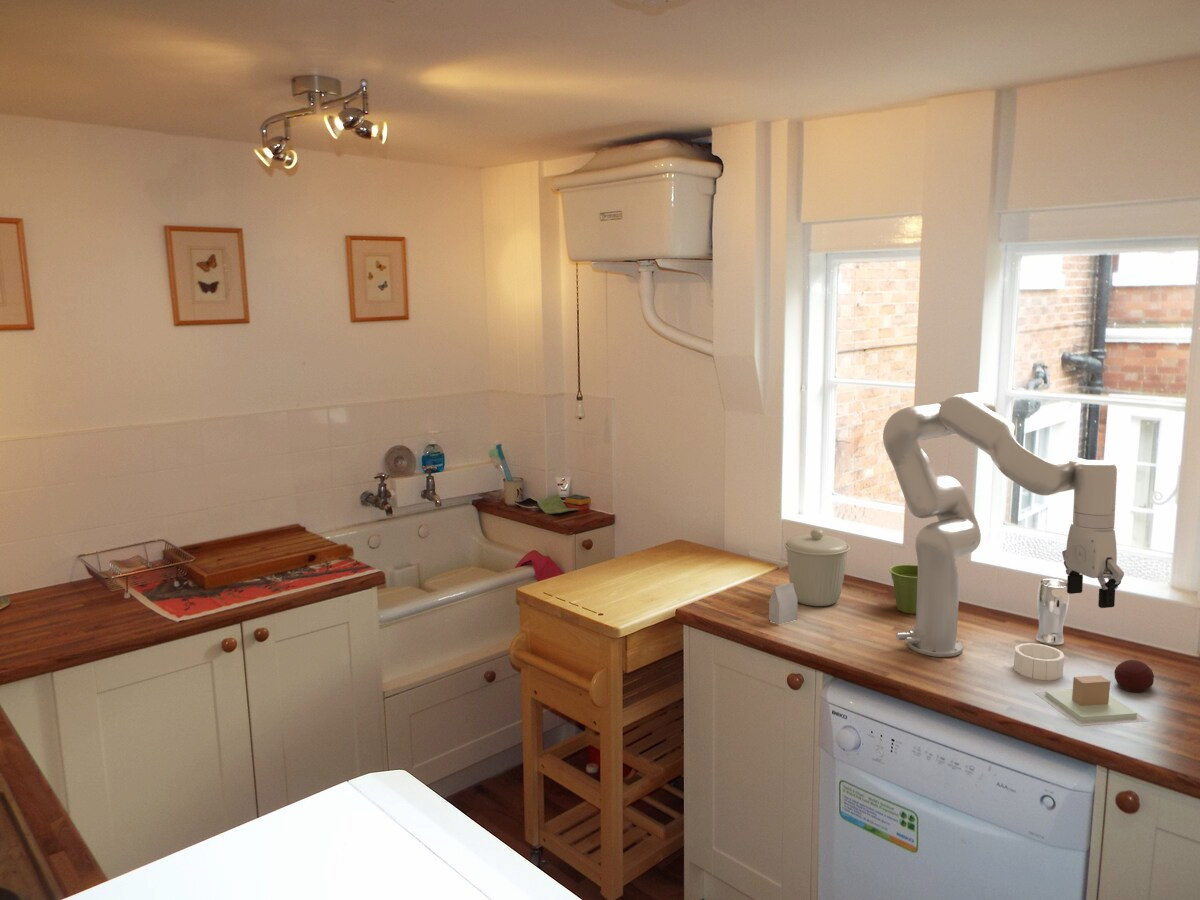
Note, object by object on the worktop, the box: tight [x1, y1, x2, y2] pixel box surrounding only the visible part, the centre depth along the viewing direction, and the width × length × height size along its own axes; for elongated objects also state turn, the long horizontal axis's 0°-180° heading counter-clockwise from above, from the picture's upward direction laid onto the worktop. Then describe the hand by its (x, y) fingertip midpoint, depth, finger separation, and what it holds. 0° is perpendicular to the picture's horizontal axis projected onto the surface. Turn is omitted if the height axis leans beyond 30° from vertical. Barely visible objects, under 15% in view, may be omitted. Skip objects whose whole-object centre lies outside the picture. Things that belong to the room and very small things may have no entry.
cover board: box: [1044, 674, 1138, 722], centre depth 183 cm, size 12×12×6 cm
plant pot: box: [888, 564, 918, 615], centre depth 241 cm, size 12×12×11 cm
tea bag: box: [768, 582, 798, 624], centre depth 234 cm, size 4×7×10 cm, turn 124°
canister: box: [783, 528, 851, 607], centre depth 248 cm, size 18×18×21 cm
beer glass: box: [1035, 578, 1070, 646], centre depth 218 cm, size 7×7×15 cm
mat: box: [1034, 691, 1149, 727], centre depth 183 cm, size 15×15×1 cm
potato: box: [1114, 659, 1155, 693], centre depth 192 cm, size 7×10×6 cm
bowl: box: [1013, 642, 1065, 681], centre depth 200 cm, size 10×10×5 cm
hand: (1090, 599), depth 184 cm, fingers open, 9 cm apart
